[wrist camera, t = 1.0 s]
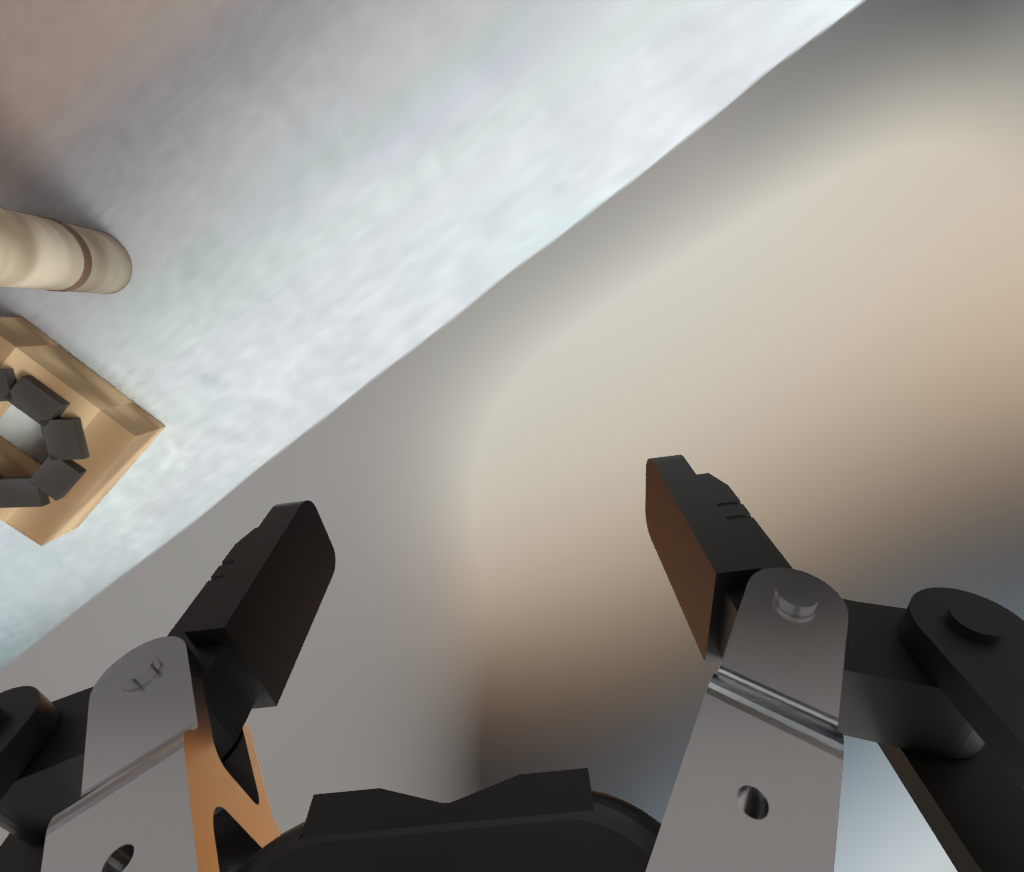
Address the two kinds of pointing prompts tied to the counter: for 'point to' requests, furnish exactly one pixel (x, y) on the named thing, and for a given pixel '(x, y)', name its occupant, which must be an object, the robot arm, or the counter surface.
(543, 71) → the counter surface
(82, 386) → the socket
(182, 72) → the counter surface
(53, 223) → the dowel
